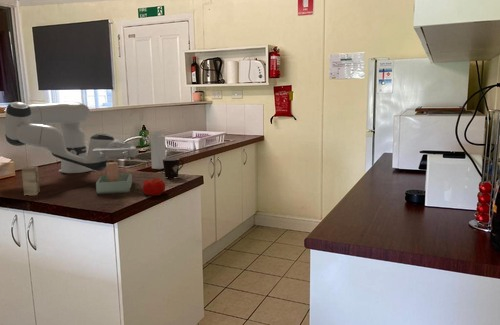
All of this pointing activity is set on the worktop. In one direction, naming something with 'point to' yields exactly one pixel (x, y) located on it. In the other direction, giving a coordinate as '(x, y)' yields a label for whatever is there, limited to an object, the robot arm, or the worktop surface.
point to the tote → (114, 184)
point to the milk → (158, 150)
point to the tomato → (153, 187)
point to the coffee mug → (171, 167)
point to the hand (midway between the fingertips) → (113, 154)
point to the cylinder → (112, 171)
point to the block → (30, 180)
